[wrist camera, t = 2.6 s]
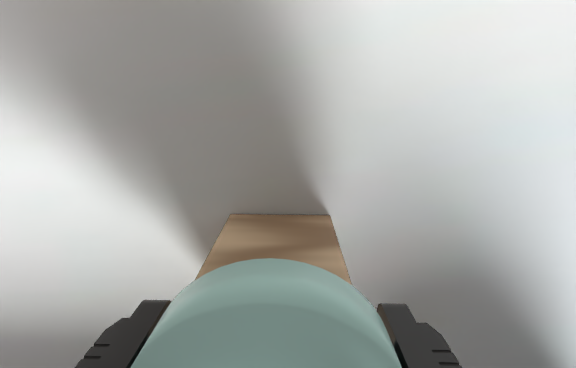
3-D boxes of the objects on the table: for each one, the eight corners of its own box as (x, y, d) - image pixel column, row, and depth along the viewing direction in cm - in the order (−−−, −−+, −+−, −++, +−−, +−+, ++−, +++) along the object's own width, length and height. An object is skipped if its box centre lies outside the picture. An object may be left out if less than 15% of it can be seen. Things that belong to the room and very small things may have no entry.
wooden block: (329, 215, 14) (355, 298, 8) (326, 303, 15) (348, 435, 9) (230, 214, 14) (186, 296, 8) (233, 302, 15) (195, 432, 9)
